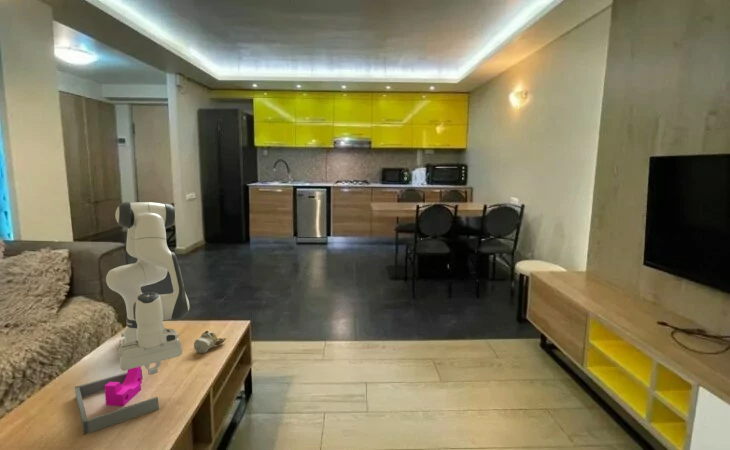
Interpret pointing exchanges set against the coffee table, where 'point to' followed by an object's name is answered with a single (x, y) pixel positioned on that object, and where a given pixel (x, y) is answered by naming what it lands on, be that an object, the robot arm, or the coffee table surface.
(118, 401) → the magenta curved bracket
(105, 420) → the box
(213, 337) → the ceramic sculpture
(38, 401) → the coffee table surface
